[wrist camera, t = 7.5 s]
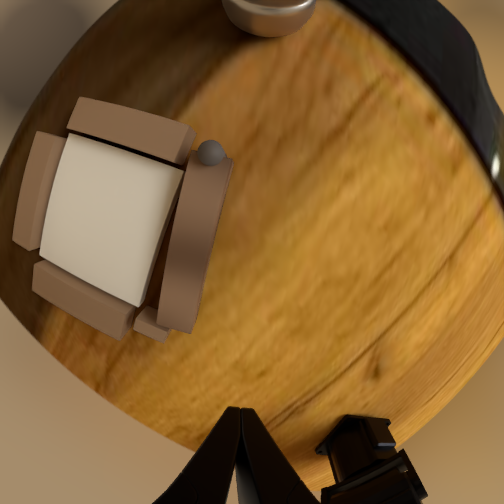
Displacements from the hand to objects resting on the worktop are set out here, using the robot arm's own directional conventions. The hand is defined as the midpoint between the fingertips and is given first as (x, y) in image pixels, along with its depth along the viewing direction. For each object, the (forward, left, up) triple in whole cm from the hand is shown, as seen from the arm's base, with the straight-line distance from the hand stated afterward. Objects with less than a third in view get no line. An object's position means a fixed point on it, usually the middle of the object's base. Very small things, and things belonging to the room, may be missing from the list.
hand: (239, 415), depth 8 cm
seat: (+1, +12, -12) cm, 17 cm away
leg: (+3, +4, -12) cm, 13 cm away
